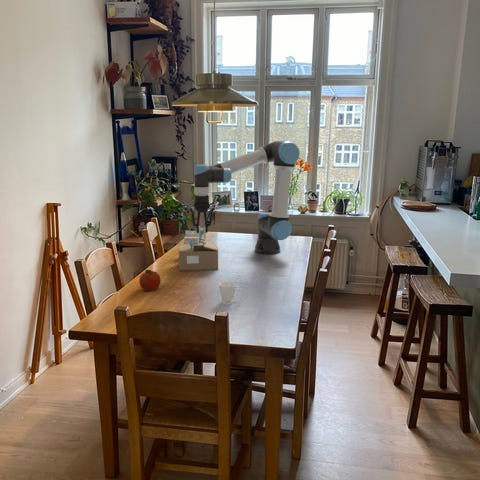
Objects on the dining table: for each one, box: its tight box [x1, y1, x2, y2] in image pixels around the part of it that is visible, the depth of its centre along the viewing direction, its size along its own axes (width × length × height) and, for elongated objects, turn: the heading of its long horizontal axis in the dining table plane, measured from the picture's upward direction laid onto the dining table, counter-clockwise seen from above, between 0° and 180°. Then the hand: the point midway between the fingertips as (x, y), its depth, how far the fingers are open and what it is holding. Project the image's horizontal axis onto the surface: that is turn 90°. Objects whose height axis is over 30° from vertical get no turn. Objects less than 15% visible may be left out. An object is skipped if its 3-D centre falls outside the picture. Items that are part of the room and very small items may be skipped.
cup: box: [218, 281, 244, 305], centre depth 197 cm, size 7×10×8 cm
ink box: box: [183, 230, 201, 245], centre depth 265 cm, size 9×5×15 cm, turn 84°
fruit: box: [138, 269, 161, 292], centre depth 212 cm, size 10×10×10 cm
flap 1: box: [178, 240, 194, 253], centre depth 244 cm, size 8×14×5 cm, turn 7°
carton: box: [178, 244, 219, 272], centre depth 246 cm, size 20×14×10 cm
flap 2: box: [198, 227, 219, 252], centre depth 245 cm, size 11×14×7 cm
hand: (202, 238), depth 248 cm, fingers open, 2 cm apart
